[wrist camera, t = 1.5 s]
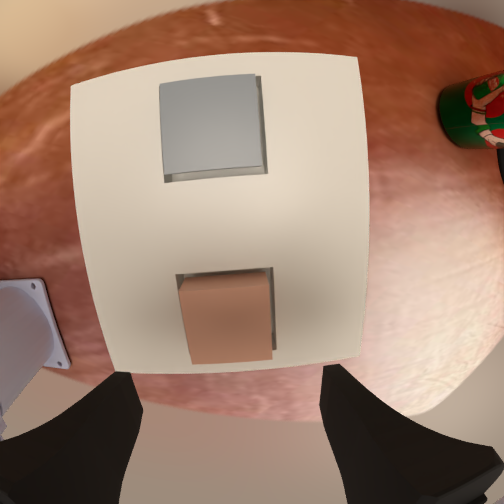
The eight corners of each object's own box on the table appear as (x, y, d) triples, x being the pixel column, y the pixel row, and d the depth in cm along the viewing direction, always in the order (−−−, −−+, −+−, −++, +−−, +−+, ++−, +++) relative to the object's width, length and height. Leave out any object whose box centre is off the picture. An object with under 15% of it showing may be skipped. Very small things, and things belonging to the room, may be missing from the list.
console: (128, 348, 20) (115, 372, 17) (92, 96, 15) (70, 85, 12) (345, 333, 20) (359, 356, 18) (340, 72, 16) (357, 57, 13)
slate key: (173, 174, 15) (164, 174, 13) (168, 93, 14) (159, 83, 12) (258, 166, 15) (261, 165, 13) (252, 85, 14) (255, 73, 12)
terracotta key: (196, 345, 17) (192, 364, 15) (184, 277, 16) (178, 291, 14) (269, 340, 17) (272, 359, 15) (265, 271, 16) (268, 285, 14)
